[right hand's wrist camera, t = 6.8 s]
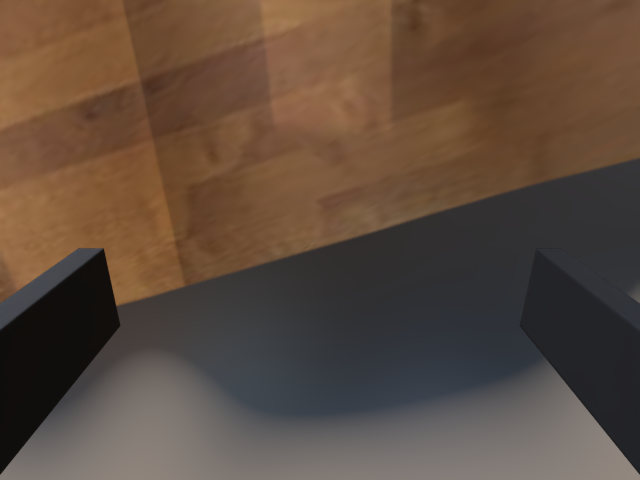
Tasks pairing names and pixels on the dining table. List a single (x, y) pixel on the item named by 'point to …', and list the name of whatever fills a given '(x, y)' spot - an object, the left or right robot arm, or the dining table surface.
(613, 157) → the dining table surface
